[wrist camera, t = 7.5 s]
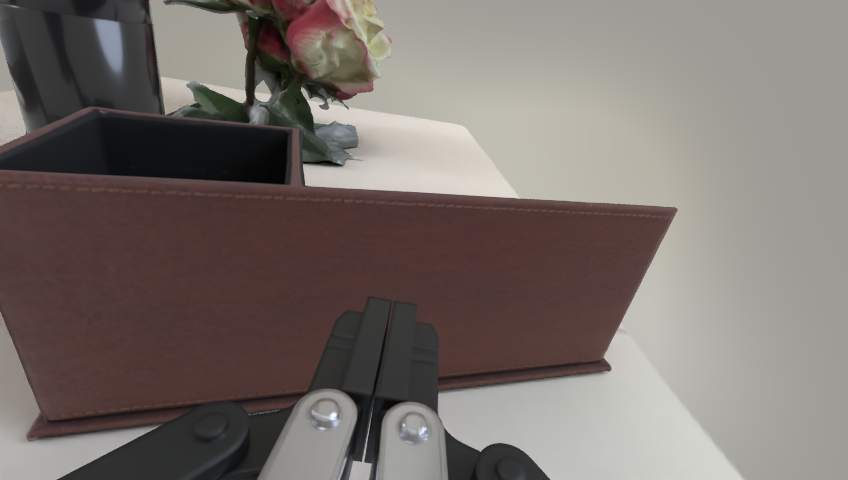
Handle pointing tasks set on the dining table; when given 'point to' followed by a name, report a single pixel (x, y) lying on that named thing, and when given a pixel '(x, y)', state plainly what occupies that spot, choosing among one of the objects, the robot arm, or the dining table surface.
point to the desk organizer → (276, 270)
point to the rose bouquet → (299, 66)
